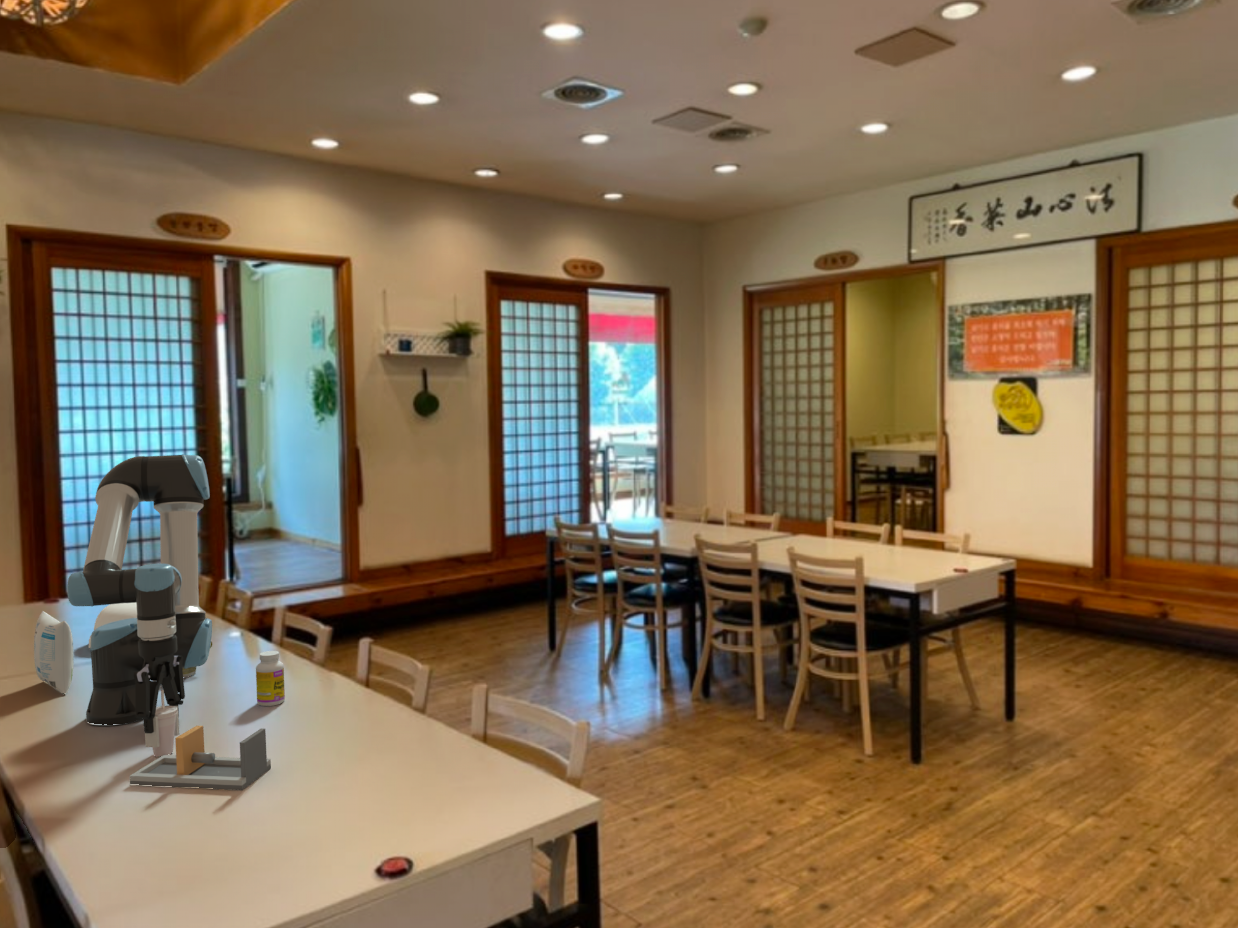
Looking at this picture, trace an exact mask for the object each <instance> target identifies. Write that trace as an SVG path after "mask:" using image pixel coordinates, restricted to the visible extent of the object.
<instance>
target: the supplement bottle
mask: <svg viewBox="0 0 1238 928" xmlns="http://www.w3.org/2000/svg"><path fill="white" fill-rule="evenodd" d="M279 658H280V651H277V650H268V651H262V652H260V653H259V660H260V662H259V663H258V664H257V665H256V667H255V678H256V681H255V683H256V684H255V685H256V703H257V704H258V705H259V706H262V707H273V706H278V705H281V704H282V703H284V702H285V698H286V695H285V669H284V668H285V667H284V663H283V662H282V661H280V660H279Z"/></svg>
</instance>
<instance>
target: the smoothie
mask: <svg viewBox="0 0 1238 928" xmlns="http://www.w3.org/2000/svg"><path fill="white" fill-rule="evenodd" d="M160 698H161V699H160V700H161V706H156V713H155V716H158V726H159V747H152V752H153V753H152V754H153V756H154V755H155V756H163V755H168V754H170V755H172V754H173V753H174V745H175V736H174V733H175V722H176V714H177V713H178V711H177V707H175V706H169V705H165V694H164V690H163V689H161V690H160ZM172 752H173V753H172ZM171 753H172V754H171ZM155 756H154V757H155Z"/></svg>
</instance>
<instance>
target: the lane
mask: <svg viewBox="0 0 1238 928" xmlns="http://www.w3.org/2000/svg"><path fill="white" fill-rule="evenodd" d="M266 737H267V735H266V728H259V729H258V730H256V731H255V732H254V733H251V734H250V735H249V736H247V737H246V738H244V739H243V740H241V741H240V742H239V756H240V757H229V756H228V757H227V756H226V757H225V756H215V760H214V762H213V763H205V764H204V765H202V766H201V767H199V768H198V769H196V770H195V771H193V772H192V773H190V774H189V775H177V762H176V754H170V755H163V756H162V757H157V759H155V760H154V761H152V762H151V763H148V764H147V765H145V766H143V767H142V768H140V769H138V770H136V772H133V773H132V774H130V775H129V785H130V784H139V785H152V786H172V787H171V788H174V787H199V788H213V789H212V790H219V789H224V790H225V791H245V789H246V788H247V787H248V786H251V784H253V783H254V782H255V781H257V780H258V779H259V778H260V777H262V776H263V775H265V774H266V773H268V771H270V770H271V768H272V764H271V763H272V762H271V758H268V757H267V738H266Z"/></svg>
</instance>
